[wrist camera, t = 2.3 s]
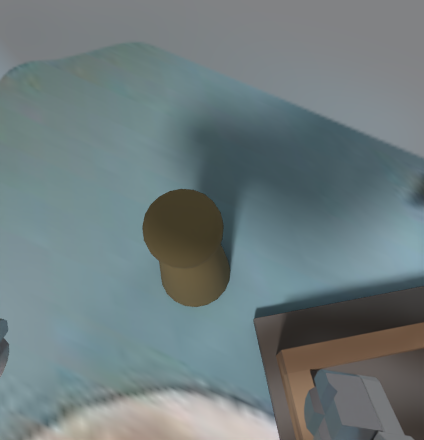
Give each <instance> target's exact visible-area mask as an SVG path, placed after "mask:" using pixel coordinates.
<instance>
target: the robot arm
mask: <svg viewBox="0 0 424 440" xmlns="http://www.w3.org/2000/svg"><path fill="white" fill-rule="evenodd" d="M7 332H8V325H7V321H6V320H4V319H0V377H1V375H2V373H3V371H4V369H5V366H6V363H7V361H8V355H9V344H8V342H7V341H6V340H5V339H4V336H5V335H6V333H7ZM314 380H315V384H316V386H315V387H314V388H312V389H310V390H309V391H308V394H307V396H306V398H305V405H304V418H305V423H306V428H307V429H308V430H309V431H310V433H311V434H312V435H313V436H314V438H313V440H414V439H413V438H412V437H411V436H407V435H405V434H404V432H403V430H402V428H401V426H400V424H399V422H398V420H397V417H396V415H395V413H394V411H393V409H392V407H391V405H390V403H389V400H388V398H387V396H386V394H385V392H384V390H383V388H382V385H381V383H380V381H379V380H378V379H377V378H376V377H369V376H363V375H355V374H350V373H343V372H336V371H329V370H322V369H321V370H319V371H318V372H317V374H316V376H315V378H314Z"/></svg>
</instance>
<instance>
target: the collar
mask: <svg viewBox="0 0 424 440" xmlns="http://www.w3.org/2000/svg"><path fill="white" fill-rule="evenodd" d="M254 326H255V330H256V335H257V339H258V344H259V348H260V353H261V357H262V362H263V366H264V370H265V375H266V379H267V384H268V388H269V393H270V397H271V402H272V406H273V411H274V415H275V420H276V424H277V429H278V433H279V438H280V440H313V438H314V436H313V435H312V434H311V433H310V431H309V430H308V429H307V428H306V423H305V418H304V405H305V398H306V396H307V394H308V391H309V390H310V389H312V388H314V387H315V386H316V384H315V380H314V378H315V376H316V374H317V372H318V371H319V370H321V369H322V370H329V371H336V372H343V373H350V374H355V375H363V376H369V377H376V378H377V379H378V380H379V381H380V383H381V385H382V388H383V390H384V392H385V394H386V396H387V398H388V400H389V403H390V405H391V407H392V409H393V411H394V413H395V415H396V417H397V420H398V422H399V424H400V426H401V428H402V430H403V432H404V434H405V435H407V436H411V437H412V438H413V439H414V440H424V286H422V287H416V288H411V289H406V290H401V291H395V292H390V293H385V294H380V295H375V296H369V297H364V298H359V299H354V300H349V301H343V302H338V303H333V304H328V305H322V306H317V307H312V308H307V309H302V310H296V311H291V312H286V313H281V314H276V315H270V316H265V317H260V318H255V319H254Z"/></svg>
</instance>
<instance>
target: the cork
mask: <svg viewBox="0 0 424 440" xmlns="http://www.w3.org/2000/svg"><path fill="white" fill-rule="evenodd" d="M143 236H144V241H145V243H146V245H147V247H148V249H149V251H150V252H151V254H152V255H153V256H154V257H155V258H156V259H158V260H159V263H160V271H161V278H162V285H163V287H164V288H165V290H166V292H167V294H168V295H169V296H170V297H171V298H172V299H173V300H174V301H176V302H178V303H180V304H182V305H185V306H192V307H198V306H203V305H208V304H209V303H211V302H213V301H215V300H216V299H218V298H219V296H220V295H221V294H222V293H223V292H224V291H225V289H226V287H227V285H228V282H229V278H230V267H229V263H228V259H227V257H226V255H225V252H224V250H223V248H222V246H221V241H222V236H223V220H222V216H221V213H220V211H219V210H218V208H217V207H216V205H215V204H214V202H213V201H212V200H211V199H210V198H208V197H207V196H206V195H205V194H203V193H200V192H198V191H195V190H189V189H178V190H173V191H169V192H167V193H165V194H163V195H161V196H160V197H158V198H157V199H156V200H155V201H154V202H153V203H152V204H151V205H150V207H149V208H148V210H147V212H146V214H145V217H144V222H143Z"/></svg>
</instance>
